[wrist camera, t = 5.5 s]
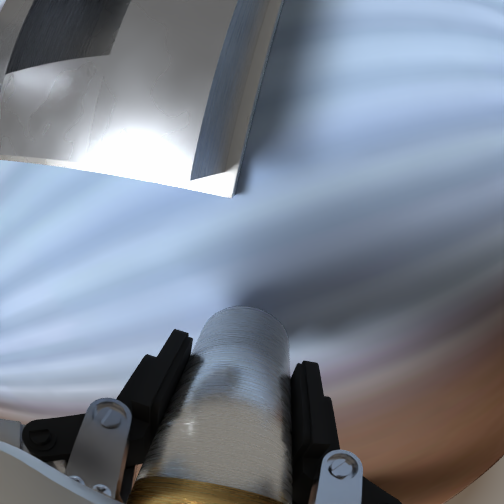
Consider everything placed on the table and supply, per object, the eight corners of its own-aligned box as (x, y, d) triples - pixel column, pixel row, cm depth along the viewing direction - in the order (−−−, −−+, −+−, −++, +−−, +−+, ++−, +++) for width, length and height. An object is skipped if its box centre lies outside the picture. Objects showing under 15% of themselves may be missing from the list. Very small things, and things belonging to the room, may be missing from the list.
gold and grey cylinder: (300, 318, 12) (321, 571, 2) (275, 384, 13) (262, 581, 3) (208, 295, 12) (91, 528, 2) (195, 365, 13) (123, 552, 3)
